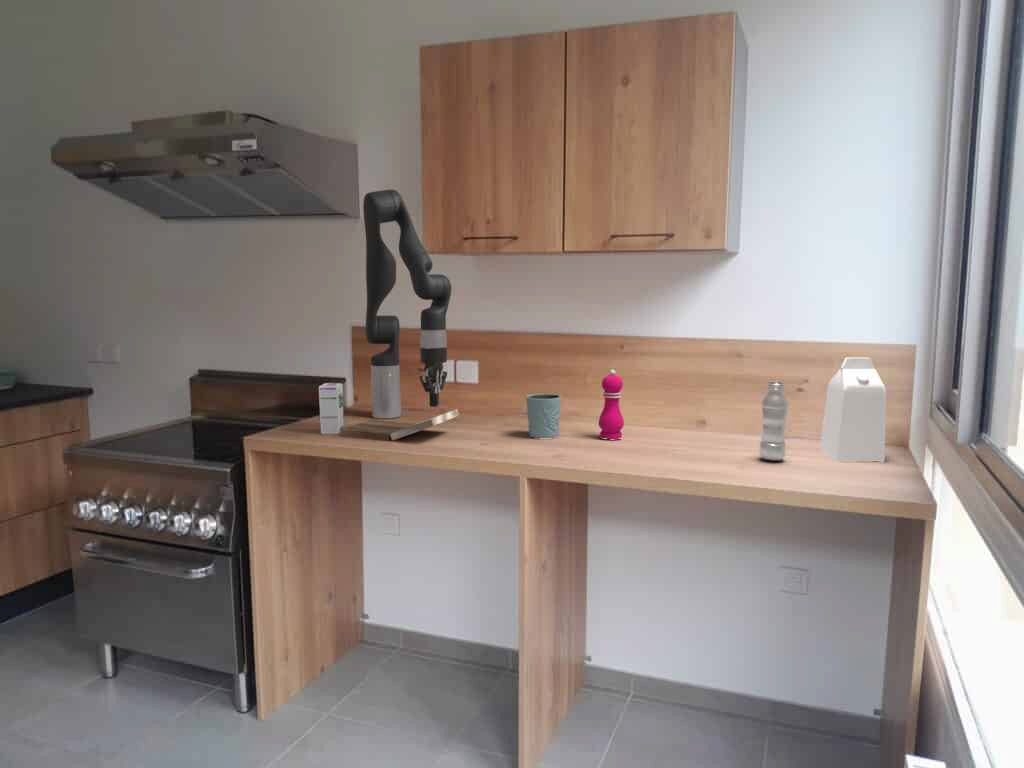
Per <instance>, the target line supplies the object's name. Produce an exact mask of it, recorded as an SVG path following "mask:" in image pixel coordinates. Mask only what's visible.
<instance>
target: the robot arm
mask: <svg viewBox="0 0 1024 768" xmlns="http://www.w3.org/2000/svg"><path fill="white" fill-rule="evenodd" d="M362 207H363V208H362V209H363V220H364V221H363V222H364V223H363V224H364V229H365V230H364V231H365V245H366V248H365V249H366V251H365V254H366V255H365V256H366V257H365V260H366V261H365V282H366V309H365V311H366V313H365V338H366V339H365V340H366V341H367V342H368V344H372V345H387V344H388V345H389V346H388V347H387V348H386V349H385V350H383V351H382V352H379V353H375V354H374V355H372V356H371V357H370V373H371V374H370V377H371V383H370V384H371V387H370V388H371V417H372V418H375V419H395V418H399V417H401V415H402V399H401V397H402V395H401V392H402V391H401V389H402V388H401V383H400V382H401V381H400V377H401V374H400V329H401V327H400V326H401V325H400V320H399V317H398V316H396V315H378V312H379V309H380V307H381V305H382V303H383V302H384V300H385V299H386V298H387V297H388V296H389V294H390V293H391V292H392V290H393V289H394V287H395V285H396V283H397V262H396V258H395V256H394V254H393V253H392V252H391V250H390V248H388V246H387V245H386V244H385V242H384V240H383V238H382V234H381V224H387V223H392V222H396V223H397V225H398V227H399V230H400V233H399V234H400V235H399V241H398V252H399V256H400V257H401V259H402V262H403V263H404V265H405V267H406V268H407V270H408V272H409V275H410V279H411V283H412V284H411V285H412V288H413V289H412V290H413V291H414V293H415V295H416V296H417V297H418V298H420V299H421V300H424V301H431V300H432V301H431V304H430V306H429V307H427V308H423V309H422V310H421V313H420V334H419V335H420V336H419V351H420V353H419V355H420V356H419V357H420V358H419V359H420V363H422V364H424V368H423V372H424V374H423V375H420V376H419V380H420V382H421V383H420V384H421V386H422V387H423V389H424V392H425V393H428V394H429V407H431V408H432V407H433V408H436V407H439V406H440V398H439V397H440V393H441V391H442V390H443V389H444V387H445V382H446V380H447V376H448V372H447V371H444V365H443V364H444V363H447V361H448V336H447V318H446V315H447V311H448V308H449V304H450V301H451V295H452V283H451V280H450V279H449V277H448V276H447V275H444V274H439V273H438V274H437V273H436V274H429V273H430V271H432V269H433V261H432V259H431V257H430V256H429V254H428V252H427V251H426V248H425V247H424V245H423V244H422V242H421V241H420V239H419V236H418V233H417V231H416V229H415V226H414V224H413V220H412V218H411V216H410V213H409V211H408V209H407V206H406V203H405V201H404V199H403V197H402V195H401V194H400V192H399V191H397V190H396V189H384V190H376V191H371V192H367V193H366V194H365V195H364V197H363V204H362Z"/></svg>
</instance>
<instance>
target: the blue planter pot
mask: <svg viewBox="0 0 1024 768" xmlns="http://www.w3.org/2000/svg"><path fill="white" fill-rule="evenodd" d="M525 399H526V400H525V401H526V402H525V403H526V410H527V411H526V413H527V422H528V434H529V435H528V436H529V437H530V436H531V437H534V438H554V437H557V436H558V437H559V435H560V431H559V430H560V419H561V417H560V415H561V414H560V413H561V403H562V396H561V395H560V394H557V393H547V392H546V393H543V392H542V393H533V394H532V393H531V394H528V395H526V396H525ZM531 437H530V438H531ZM534 438H533V439H534Z"/></svg>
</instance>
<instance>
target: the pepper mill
mask: <svg viewBox="0 0 1024 768" xmlns="http://www.w3.org/2000/svg"><path fill="white" fill-rule="evenodd" d="M623 384H624V382H623V379H622V378H621V376H618V375H617V374H616V370H615V369H611V370H609V374H608V375H605V376H604V377H603V378H602V381H601V387H602V389H603V390H604V391H603V394H602V395H603V398H604V404H603V405H604V406H603V409H602V411H601V414H600V416H599V419H598V426H599V428H600V429H601V431H600V433H599V438H600V437H602V438H607V439H618V438H621V437H622V438H623V433H622V429H623V428H624V426H625V421H624V417H623V414H622V412H621V410H620V409H621V408H620V398H622V397H621V394H622V392H621V390H622V389H623V387H624V385H623Z"/></svg>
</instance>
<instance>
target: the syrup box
mask: <svg viewBox="0 0 1024 768" xmlns="http://www.w3.org/2000/svg"><path fill="white" fill-rule="evenodd" d="M343 392H344V391H343V383H341V382H327V383H326V382H325V383H323V384H321V385H319V386H318V401H319V402H318V403H319V404H318V405H319V419H320V421H319V424H320V434H321V435H341V431H340V430H341V429H344V428H345V417H344V416H345V414H344V394H343Z"/></svg>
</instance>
